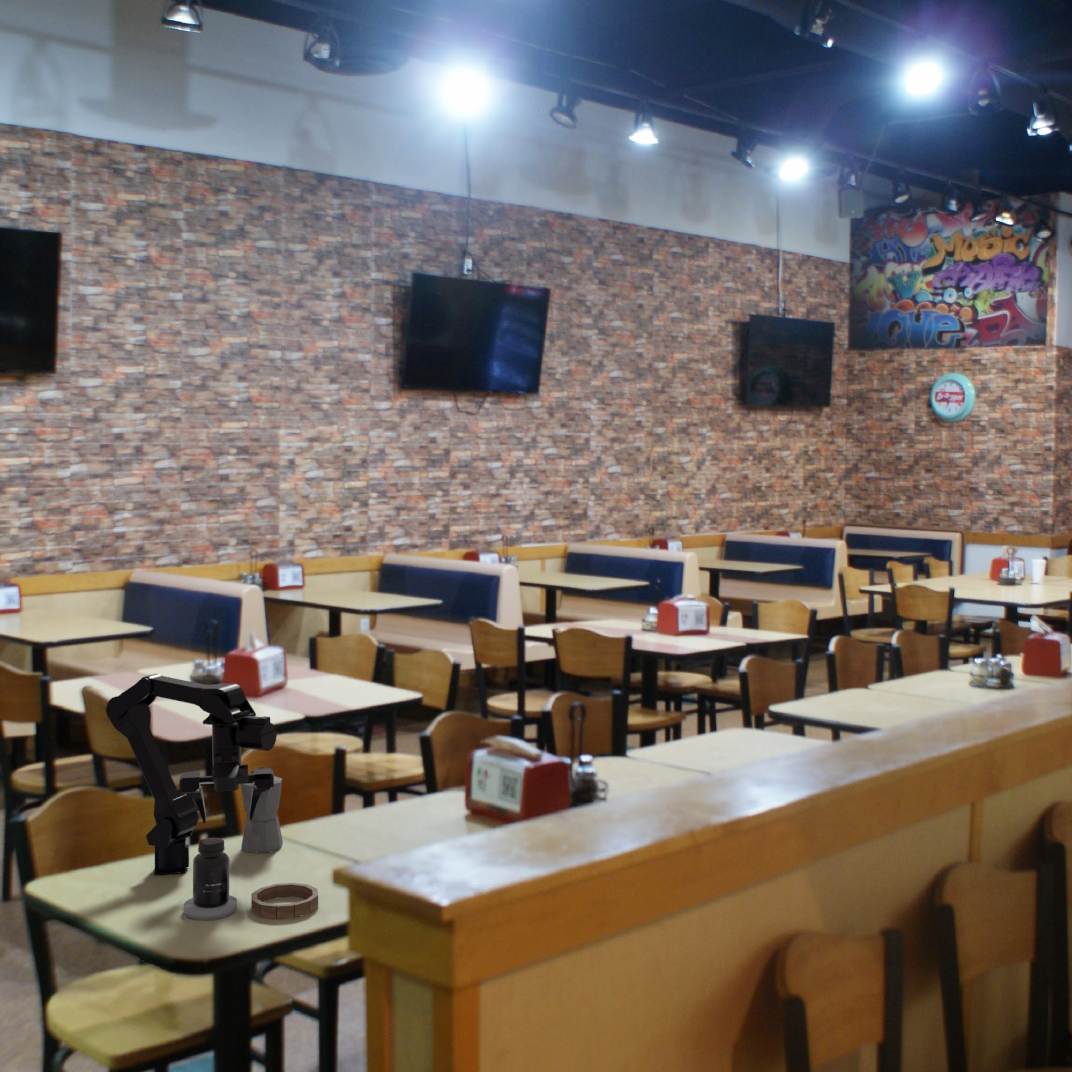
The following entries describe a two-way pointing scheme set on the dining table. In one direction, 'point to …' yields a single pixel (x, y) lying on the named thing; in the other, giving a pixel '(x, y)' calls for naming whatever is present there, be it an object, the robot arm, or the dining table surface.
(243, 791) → the coffeepot
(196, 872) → the supplement bottle
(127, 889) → the dining table surface
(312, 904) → the ring holder
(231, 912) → the coaster
